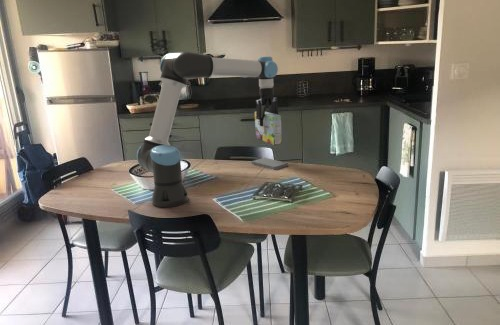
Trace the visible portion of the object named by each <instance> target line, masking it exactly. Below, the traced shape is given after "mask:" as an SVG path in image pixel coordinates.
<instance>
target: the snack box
mask: <svg viewBox="0 0 500 325" xmlns="http://www.w3.org/2000/svg"><path fill="white" fill-rule="evenodd" d="M261 118H262V117H261ZM263 120H265V132H261V126H260V121H259V120H258V119H256V111H254V126H255V127H254V128H255V138H256V139H257V140H259V141H263V142H265V143H267V144H270V145H273V146H276V145H282V144H283V141H282V140H283V138H282V133H283V132H282V115H280V114H278V115H277V114H273V113H270V111H269V112H268V111H265V115H264V119H263Z"/></svg>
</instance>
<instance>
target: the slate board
mask: <svg viewBox="0 0 500 325" xmlns="http://www.w3.org/2000/svg"><path fill="white" fill-rule="evenodd" d="M253 164H254V165H253ZM251 165H253V166H258V167H262V168H266V169H268V170H269V169H270V170H272V169H273V171H276V170H279V169H282V168H285V166H286V167H288V166H289V164H288V162H284V161H281V160H276V159H272V158H270V157H269V158H268V157H262V158H259V159H255V160H251Z"/></svg>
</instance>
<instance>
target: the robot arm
mask: <svg viewBox="0 0 500 325" xmlns="http://www.w3.org/2000/svg"><path fill="white" fill-rule="evenodd" d="M159 70H160V72H161V74H160V78H159V80H160V81H161V83H162V85H161V89H160V93H159V96H158V100H157V104H156V107H155V110H154V115H153V119H152V123H151V127H150V130H149V135H148V136H146V137H145V138H144V139H143V142H142V145H140V146H139V148H138V149H137V151H136V160H137V163H138V165H139V166H140V167H141V168H142V169H144V170H145V171H147V172H150V173H152V175H153V176H152V177H153V184H154V188H153V192H152V197H151V202H152V205H153V206H155V207H158V208H173V207H178V206H181V205H183V204H185V203H187V202H188V201H189V195H188V192H187V189H186V188H185V185H184V183H183V175H182V166H181V163H182V162H181V155H180V151H179V148H177V147H176V146H174V145H171V144H170V142H169V139H170V135H171V131H172V127H173V122H174V120H175V116H176V112H177V109H178V108H177V107H178V105H179V100H180V97H181V94H182V90H183V89H184V88H186V87H187V84H188V80H193V79H194V80H195V79H204V78H205V79H206V78H207V79H209V78H211V77H212V76H215V77H217V76H218V77H239V78H245V79H247V78H258V87H259V89H258V91H259V95H260V96H259V97H260V98H259V99H256V100H255V104H256V106H255V107H256V109H255V110H256V111H255V112H256V119H258V120H259V121H260V126H261V132H265V120H263V119H264V115H265V112H266V109H267V108H268V109H269V113H273V114H277V115H279V107H278V97H274V94H275V93H274V92H275V89H274V85H275V84H274V78H275V77H276V76H277V74H278V70H279V67H278V64H277V63H276V62H275V61H273V57H272V56H268V55H267V56H258V58H257V60H255V59H254V60H253V59H251V60H250V59H241V58H239V59H237V58H226V57H225V58H223V57H212V56H211V55H210V54H202V53H198V52H193V51H186V50H185V51H184V50H183V51H171V52H168V53H166V54H165V55H164V56H163V57H162V58H161V60H160V62H159ZM261 117H262V118H261Z"/></svg>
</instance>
